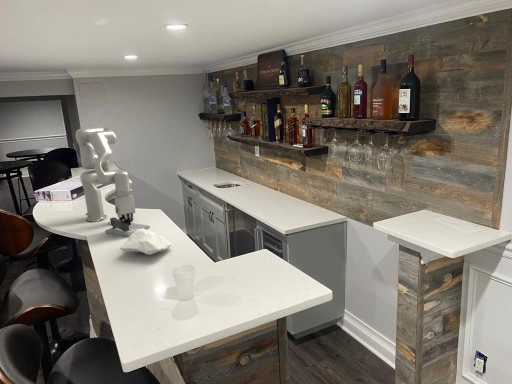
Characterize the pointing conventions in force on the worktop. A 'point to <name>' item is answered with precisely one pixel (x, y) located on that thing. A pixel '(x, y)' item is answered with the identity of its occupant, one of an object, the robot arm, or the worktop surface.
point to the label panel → (126, 233)
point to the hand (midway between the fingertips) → (128, 225)
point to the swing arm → (119, 224)
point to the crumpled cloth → (145, 242)
